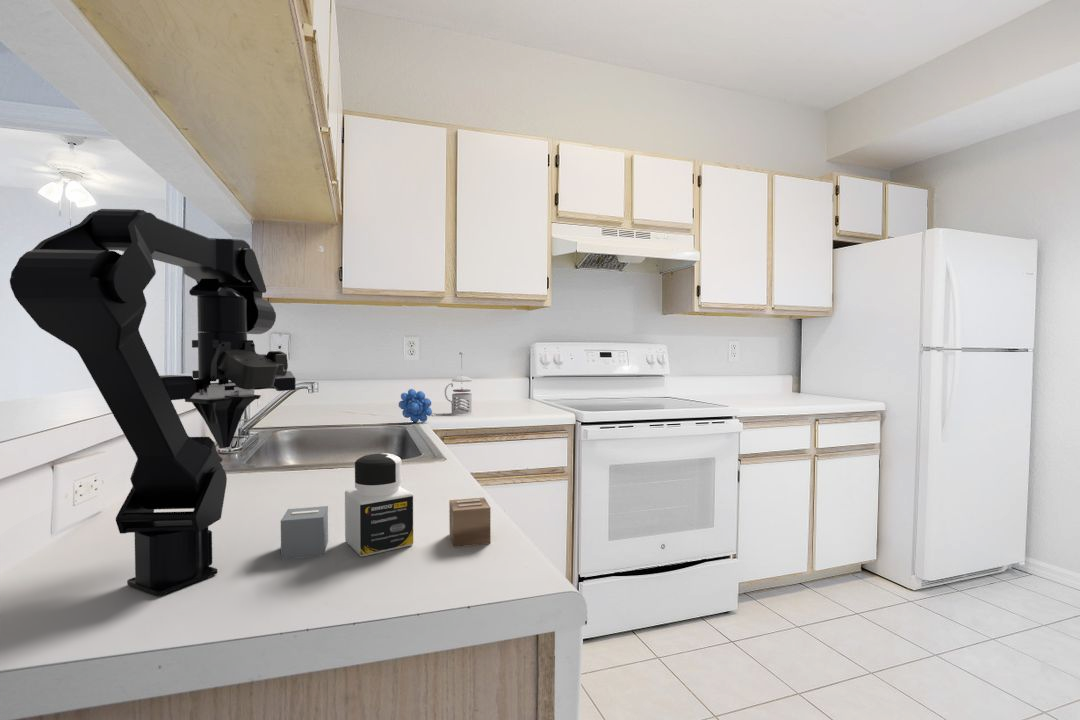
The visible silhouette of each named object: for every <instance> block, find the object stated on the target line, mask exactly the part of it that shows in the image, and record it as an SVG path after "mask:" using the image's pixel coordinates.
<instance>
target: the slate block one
mask: <svg viewBox="0 0 1080 720" xmlns="http://www.w3.org/2000/svg"><path fill="white" fill-rule="evenodd" d="M328 543H329V505H323V506H312V507H311V506H310V507H297V508H296V507H295V508H288V509H287V510H286V512H285V513H284V514H283V516H282V518H281V519H280V560H282V561H283V560H291V559H300V558H310V557H311V558H312V557H320V556H322V557H323V556H325V553H326V550H327V546H328Z"/></svg>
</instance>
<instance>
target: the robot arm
mask: <svg viewBox="0 0 1080 720" xmlns="http://www.w3.org/2000/svg"><path fill="white" fill-rule="evenodd" d="M116 251H120V252H123V253H122V254H121V253H119V252H116ZM154 260H155V261H158V262H160V263H161V262H162V263H166V264H170V265H173V266H177V267H180V268H181V269H183V274H184V275H186V276H187V277H189V278H191V279H192V280H194V281H195V282H196V285H194V286H192V287H191V288H190V289H189V295H190V296H193V297H197V303H196V304H197V339H192V340H191V348H194V349H195V348H196V349H197V351H198V352H197V356H198V357H197V359H198V360H197V364H198V366H197V368H198V370H192V371H191V373H192V374H191V375H179V374H178V375H177V374H175V375H174V374H173V375H172V374H166V375H162V374H161V375H160V373H159V372H158V369H157V368H156V365H155V362H154V361H153V358H152V357H151V354H150V352H149V350H148V348H147V346H146V344H145V341H144V339H143V338H142V335H141V333H140V325H141V323H142V319H143V316H144V313H145V311H146V308H147V304H148V303H147V300H146V297H145V293H144V291H145V289H146V288H147V286H148V285H149V284H150V282H151V281H152V279H153V278H154V277H155V275H156V274H157V271H156V266H155V263H154ZM9 285H10V289H11V290H12V293H13V296H14V298H15V299H16V301H17V302H18V303H19V305H20V306H21V307H22V308H23V309H24V311H25V312H26V313H27V315H29V316H30V318H31V319H32V320H33V321H34V322H35V324H36V325H37V326H38V327H39V328H40V329H41V330H43V331H45V332H46V333H48V334H50V335H51V336H53V337H55V338H56V339H57V340H59V341H61V342H62V343H65V345H67V346H69V347H71V348H72V349H74V350H75V351H76V352H77V354H78V355H79V357H80V358H81V360H82V362H83V364H84V365H85V367H86V369H87V371H88V372H89V374H90V377H91V378H92V380H93V382H94V383H95V385H96V387H97V389H98V391H99V392H100V394H101V396H102V398H103V399H104V401H105V403H106V405H107V406H108V409H109V410H110V411H111V413H112V415H113V418H114V419H115V420H116V423H117V424H118V426H119V428H120V430H121V431H122V433H123V435H124V436H125V438H126V440H127V442H128V444H129V445H130V447H131V449H132V451H133V453H134V454H135V457H136V458H137V459H136V461H135V463H134V464H135V465H134V466H133V469H132V473H131V476H130V478H129V479H130V482H131V485H132V487H131V488H130V490H129V492H128V494H127V496H126V498H125V499H124V501H123V504H122V505H121V507H120V509H119V511H118V513H117V515H116V517H115V522H116V526H117V529H118V532H119V534H120V535H121V534H130V533H134V573H135V574H134V575H135V577H131V578H128V580H126V583H127V586H130V587H132V588H136V589H139V590H140V591H144V592H146V593H149V594H152V595H155V596H162V595H166V594H169V593H171V592H174V591H176V590H179V589H181V588H183V587H186V586H189V585H192V584H194V583H197V582H199V581H201V580H204V579H206V578H210V577H212V576H214V575H217V574H218V568H216V567H213V566H211V565H213V531H212V530H210V529H209V527H210V526H211V525H213V524H214V523H216V522H217V521H219V520H221V518H222V513H223V507H224V503H225V502H224V501H225V494H226V490H227V489H226V488H227V481H228V480H227V479H228V478H227V472H226V471H225V469H224V468H223V467H224V466H223V465H222V462H223V458H222V457H221V456H220V455H219V453H218V450H217V447H216V445H215V443H216V444H217V446H218V447H219V448H220V449H228V448H230V447H231V444H232V442H233V439H234V437H235V434H236V431H237V430H238V429H237V428H238V427H239V423H240V422H241V418H242V417H243V414H244V413H245V411H246V409H247V408H248V406H249V405H251V404H252V403H253V402H254V401H255V400H260V399H261V394H255V391H256V390H269V389H270V390H271V389H273V390H276V392H285V391H295V390H297V385H296V384H297V383H296V381H297V380H296V377H295V375H294V374H293V372H292V371H289V370H288V369H289V368H288V367H289V363H288V354H287V353H285V352H283V351H281V350H276V351H275V350H270V351H268V352H267V353H266V354H263V353H262V354H260V353H257V352H256V349H255V348H256V346H255V345H256V344H255V343H254V340H253V339H252V340H251V339H248V335H262V334H265V333H267V332H268V331H270V330H271V329H272V328H273V326H274V325H275V323H276V321H277V320H276V319H277V314H276V313H277V312H275V308H274V306H273V305H272V304H271V302H269V301H268V300H266V299H265V298H263V294H266V293H267V287H266V284H265V281H264V278H263V275H262V272H261V268H260V264H259V261H258V258H257V255H256V253H255V251H254V250H253V249H252V248H251V246H250V244H249V243H248V242H247V241H246V240H244V239H237V238H215V237H214V238H212V237H211V238H210V237H207V236H205V235H202V234H199V233H197V232H195V231H192V230H188V229H186V228H183V226H182V227H181V226H179V225H176V224H173V223H172V222H168V221H165V220H163V219H161V218H158V217H156V214H153V213H152V212H147V211H145V210H144V209H135V208H134V209H133V208H131V209H128V208H127V209H126V208H125V209H122V208H119V209H118V208H100V209H97V210H96V211H92V212H90V213H89V214H88V215H86V216H85V218H83V220H82V221H81V222H79V224H78V223H77V224H75V225H73V226H71V227H69V228H67V229H65V230H62V231H60V232H58V233H56V234H54V235H52V236H50V237H47V238H45V239H43V240H41V241H40V242H39V243H38V244H37V245H36V246H35V247H34V248H32V250H28V251H26V252H24V254H23V255H21V256H20V257H19V258H18V261H17V262H16V265H15V266H14V267H13V269H12V271H11V273H10V278H9ZM217 380H218V381H217ZM178 400H179V401H181V400H184V402H185V403H192V405H193V407H194V408H195V409H196V410H197V411H198V413H199V414H200V416H201V417H202V419H203V420H204V422H205V424H206V425H207V427H208V430H209V431H210V433H211V435H212V436H213V438H214V440H215V441H214V440H213V439H212V438H211V437H210V436H189V435H188V433H187V431H186V429H185V427H184V425H183V423H182V421H181V418H180V416H179V414H178V412H177V410H176V408H175V405H174V403H173V401H178ZM179 509H180V510H185V509H186V510H189V509H190V510H191V509H192V511H158V512H157V511H156V512H155V510H179Z"/></svg>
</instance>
